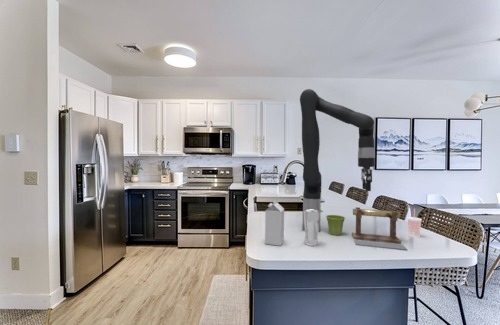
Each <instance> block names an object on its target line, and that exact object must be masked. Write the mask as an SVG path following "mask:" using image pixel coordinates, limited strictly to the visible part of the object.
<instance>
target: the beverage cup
mask: <svg viewBox="0 0 500 325" xmlns="http://www.w3.org/2000/svg"><path fill="white" fill-rule="evenodd" d="M406 219H407V227H408V228H407V229H408V236H409V237H412V238H416V239H417V238H420V237H421V226H422V222H423V221H422V218H419V217H416V208H413V216H408V217H406Z"/></svg>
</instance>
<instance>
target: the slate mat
mask: <svg viewBox="0 0 500 325" xmlns="http://www.w3.org/2000/svg"><path fill="white" fill-rule="evenodd" d="M353 242H354V244H355V246H362V247H372V248H379V249H380V248H381V249H390V250H398V251H399V250H400V251H408V248H407V247H406V246H405V245H404V244H402V243H401V244H397V243H387V242H377V241H367V240H357V239H353Z"/></svg>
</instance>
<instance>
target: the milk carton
mask: <svg viewBox="0 0 500 325" xmlns="http://www.w3.org/2000/svg"><path fill="white" fill-rule="evenodd" d="M267 207H268V208H267V209H265V218H264V220H265V221H264V222H265V223H264V224H265V226H264V244H265V245H270V246H277V247H278V246H282V245H283V243H284V241H285V240H284V239H285V238H284V237H285V235H284V234H285V208H284V207H283V206H282V205H281V204H279V202H278V200H277V199H276V200H274V201H273V202H270V203H269V204H268V205H267Z"/></svg>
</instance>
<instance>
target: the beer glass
mask: <svg viewBox="0 0 500 325" xmlns="http://www.w3.org/2000/svg"><path fill="white" fill-rule="evenodd" d="M319 224H320V225H321V218H320V214H319V210H315V209H306V210H304V228H305V230H304V234H305V237H304V244H305V245H306V246H308V247H317V246H319V238H318V236H319V231H318V230H319Z"/></svg>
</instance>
